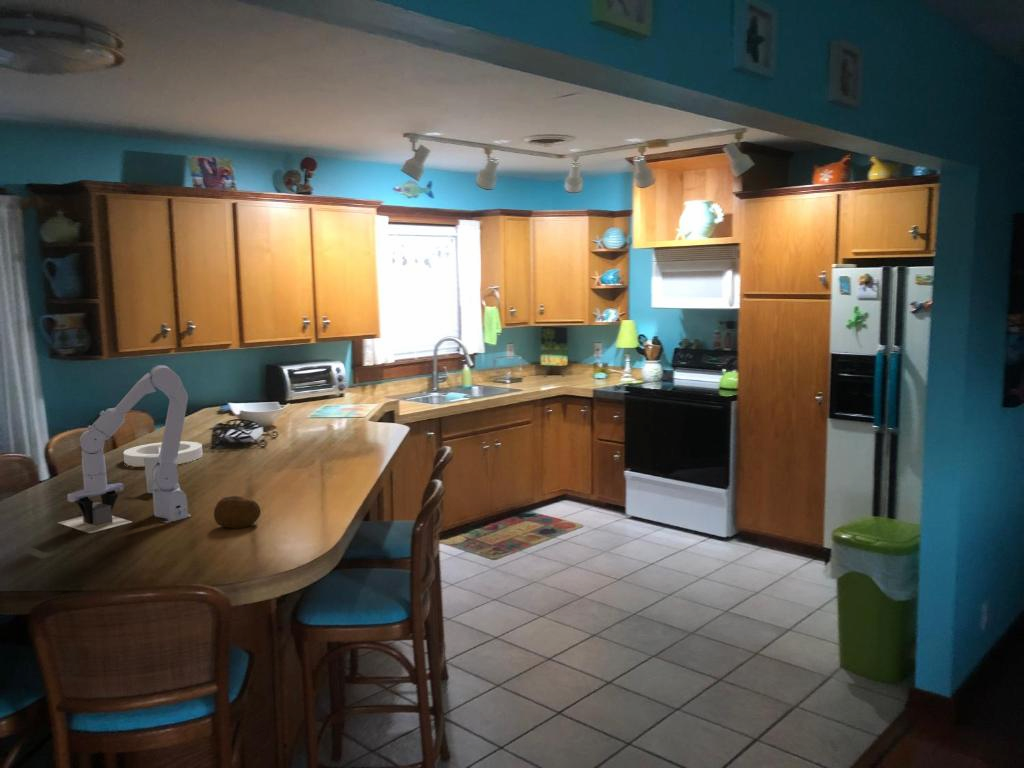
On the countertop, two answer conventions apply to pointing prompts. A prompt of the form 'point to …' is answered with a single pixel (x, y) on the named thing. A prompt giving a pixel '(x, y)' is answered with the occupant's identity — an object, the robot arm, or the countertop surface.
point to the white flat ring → (138, 453)
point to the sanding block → (100, 514)
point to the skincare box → (150, 470)
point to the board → (79, 525)
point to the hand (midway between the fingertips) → (98, 520)
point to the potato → (236, 512)
